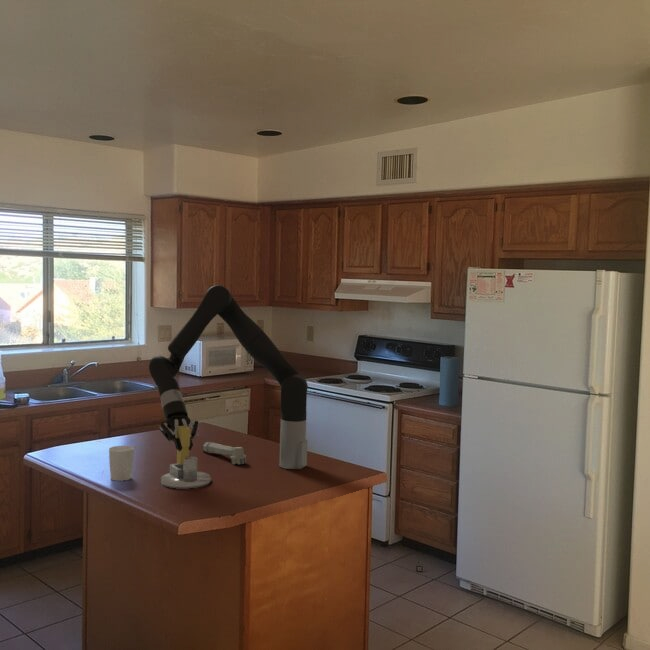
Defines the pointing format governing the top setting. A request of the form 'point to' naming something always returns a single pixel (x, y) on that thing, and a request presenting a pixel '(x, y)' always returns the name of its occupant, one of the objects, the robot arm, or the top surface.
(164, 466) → the top surface
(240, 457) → the white long round-headed device
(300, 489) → the top surface
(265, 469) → the top surface
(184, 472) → the round grey holder stand
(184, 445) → the yellow block
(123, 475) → the white cup
